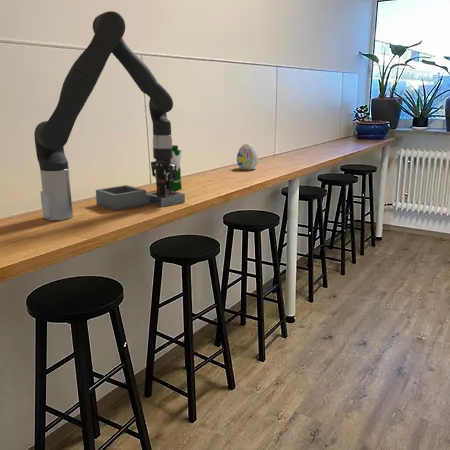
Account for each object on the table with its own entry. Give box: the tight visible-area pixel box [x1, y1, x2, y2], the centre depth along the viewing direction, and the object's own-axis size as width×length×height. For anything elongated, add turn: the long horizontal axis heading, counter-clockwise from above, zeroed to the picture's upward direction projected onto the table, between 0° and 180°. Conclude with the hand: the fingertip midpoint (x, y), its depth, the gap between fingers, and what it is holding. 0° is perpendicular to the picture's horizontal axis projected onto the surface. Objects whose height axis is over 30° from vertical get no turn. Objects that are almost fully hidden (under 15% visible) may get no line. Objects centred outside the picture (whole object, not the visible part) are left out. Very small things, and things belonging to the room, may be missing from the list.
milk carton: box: [171, 144, 183, 192], centre depth 203 cm, size 9×9×20 cm
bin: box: [95, 184, 148, 212], centre depth 177 cm, size 14×14×6 cm
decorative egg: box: [236, 142, 259, 171], centre depth 261 cm, size 12×12×15 cm
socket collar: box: [146, 190, 186, 208], centre depth 182 cm, size 12×12×4 cm
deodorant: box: [155, 165, 172, 197], centre depth 180 cm, size 6×6×15 cm
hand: (164, 188), depth 181 cm, fingers closed on deodorant, 6 cm apart
